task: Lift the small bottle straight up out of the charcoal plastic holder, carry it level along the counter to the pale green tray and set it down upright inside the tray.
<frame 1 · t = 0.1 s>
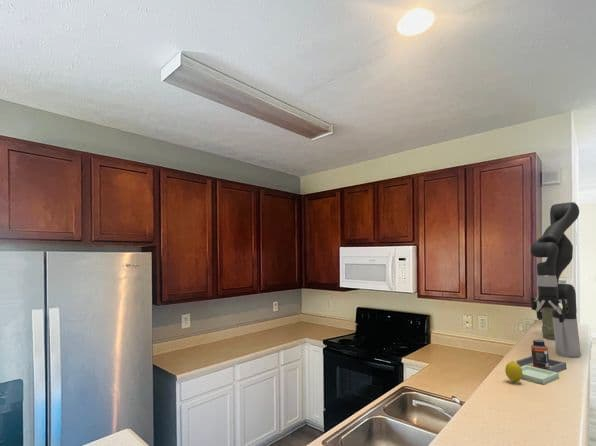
hand: (550, 321, 157), 17 cm above the countertop, tool pointing down, fingers open, 8 cm apart
holder: (541, 367, 146), on the countertop
tray: (534, 377, 135), on the countertop
supplement bottle: (541, 368, 146), resting in holder
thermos: (552, 338, 192), on the countertop
lemon: (514, 383, 130), on the countertop
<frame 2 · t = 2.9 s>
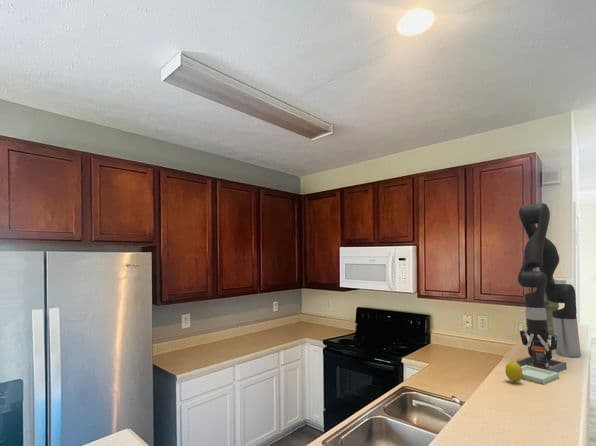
hand: (540, 357, 146), 4 cm above the countertop, tool pointing down, fingers closed on supplement bottle, 6 cm apart
supplement bottle: (541, 368, 146), resting in holder, touching gripper
everything else where it was.
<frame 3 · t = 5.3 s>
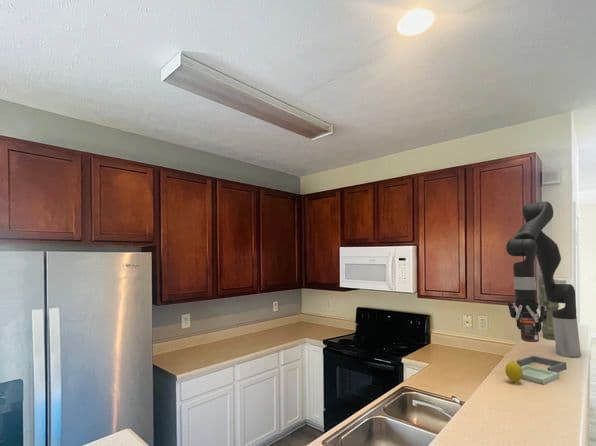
hand: (529, 330, 137), 18 cm above the countertop, tool pointing down, fingers closed on supplement bottle, 6 cm apart
supplement bottle: (530, 341, 137), point 14 cm above the countertop, touching gripper
everything else where it was.
when the fingers open (6 cm above the countertop, at t = 8.1 s): supplement bottle stays where it is, resting on tray.
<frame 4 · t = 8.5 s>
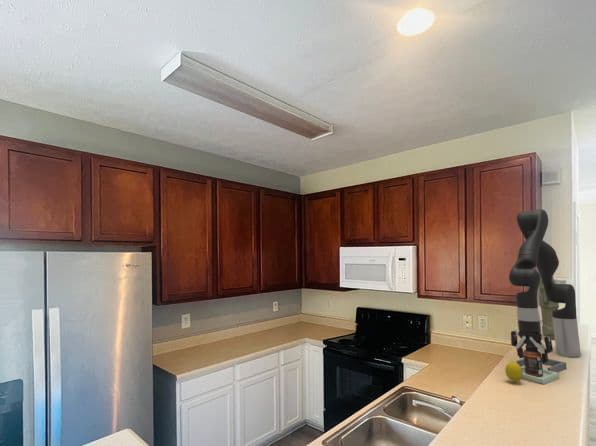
hand: (532, 360, 136), 6 cm above the countertop, tool pointing down, fingers open, 8 cm apart
supplement bottle: (534, 375, 135), point 1 cm above the countertop, touching tray
everything else where it was.
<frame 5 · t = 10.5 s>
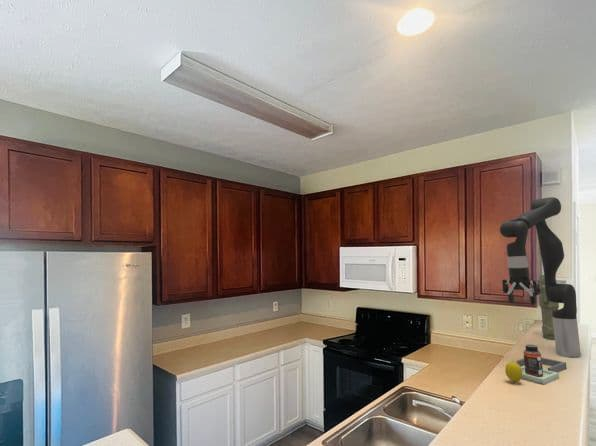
hand: (522, 303, 149), 27 cm above the countertop, tool pointing down, fingers open, 8 cm apart
nothing on the countertop moved.
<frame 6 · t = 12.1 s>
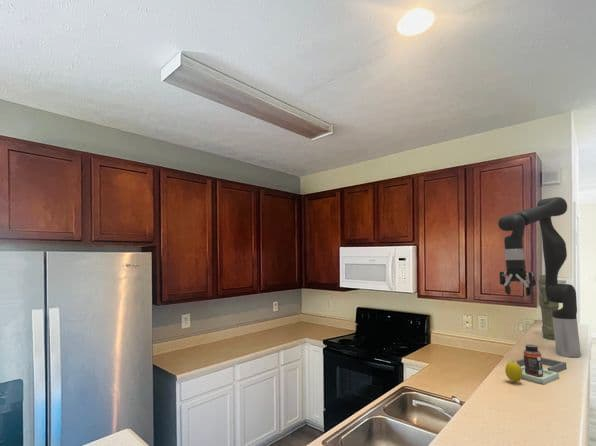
hand: (518, 295, 153), 30 cm above the countertop, tool pointing down, fingers open, 8 cm apart
nothing on the countertop moved.
at the end: supplement bottle inside the target area on the tray (0.1 cm from its centre), point 0.6 cm above the tray's base; supplement bottle tilted 0°; the gripper is holding nothing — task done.
